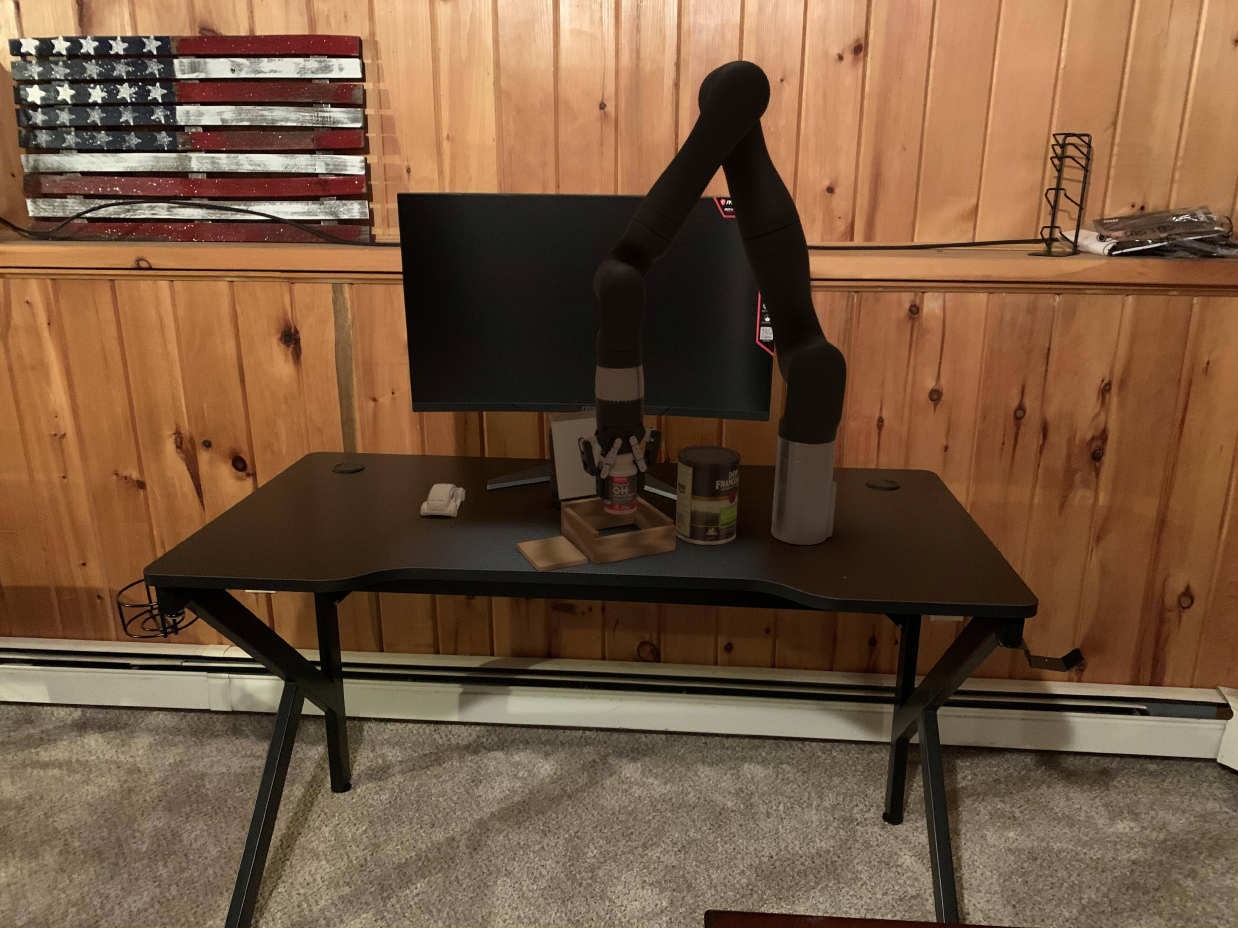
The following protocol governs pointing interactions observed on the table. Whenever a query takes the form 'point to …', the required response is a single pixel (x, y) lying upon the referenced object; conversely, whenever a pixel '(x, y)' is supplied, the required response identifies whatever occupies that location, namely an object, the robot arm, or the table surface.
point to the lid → (573, 452)
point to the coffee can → (707, 494)
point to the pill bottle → (622, 486)
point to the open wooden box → (591, 515)
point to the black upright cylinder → (553, 478)
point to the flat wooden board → (551, 553)
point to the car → (443, 500)
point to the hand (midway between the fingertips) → (620, 494)
